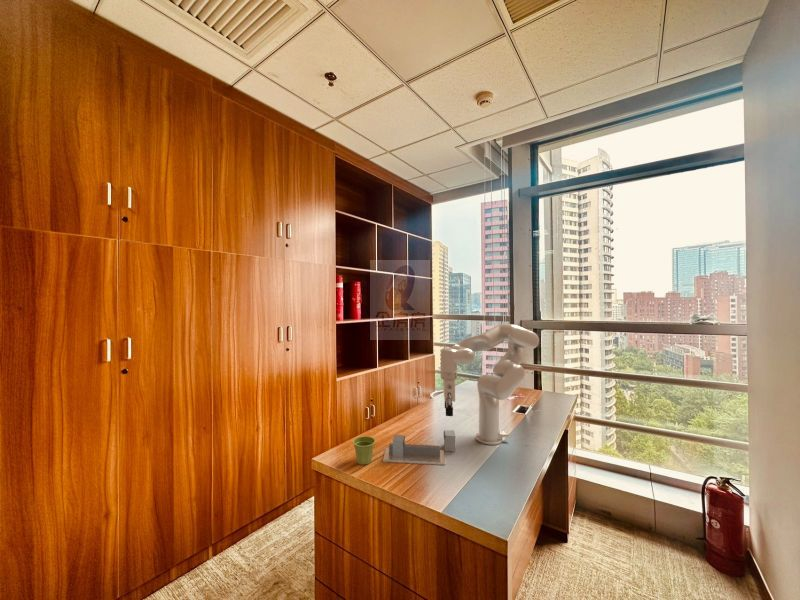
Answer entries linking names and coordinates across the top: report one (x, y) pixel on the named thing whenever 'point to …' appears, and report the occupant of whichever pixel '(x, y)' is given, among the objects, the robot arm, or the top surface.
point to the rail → (413, 453)
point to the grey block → (449, 440)
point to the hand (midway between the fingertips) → (448, 412)
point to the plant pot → (364, 449)
